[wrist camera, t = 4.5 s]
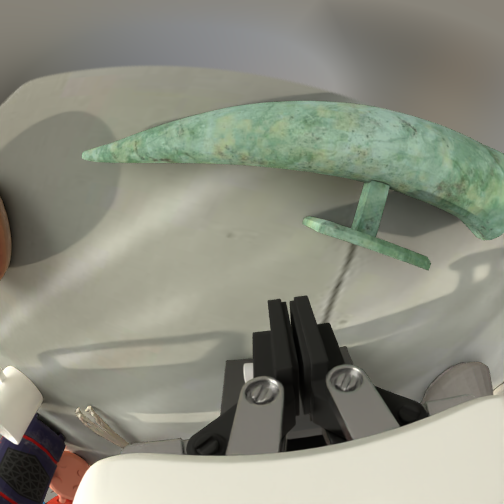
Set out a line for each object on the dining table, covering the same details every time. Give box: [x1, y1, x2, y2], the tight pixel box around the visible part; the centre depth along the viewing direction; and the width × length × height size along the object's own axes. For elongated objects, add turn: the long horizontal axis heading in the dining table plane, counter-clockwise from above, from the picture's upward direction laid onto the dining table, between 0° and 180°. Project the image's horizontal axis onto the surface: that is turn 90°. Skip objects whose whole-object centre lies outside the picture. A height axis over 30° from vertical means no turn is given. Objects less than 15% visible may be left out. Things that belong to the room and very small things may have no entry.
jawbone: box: [75, 406, 129, 448], centre depth 31 cm, size 17×5×2 cm, turn 27°
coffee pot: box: [421, 362, 493, 404], centre depth 18 cm, size 21×12×15 cm, turn 173°
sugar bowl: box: [49, 451, 90, 503], centre depth 33 cm, size 12×14×10 cm
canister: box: [0, 413, 66, 504], centre depth 20 cm, size 14×12×30 cm
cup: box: [0, 366, 43, 445], centre depth 23 cm, size 8×12×10 cm
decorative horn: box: [82, 101, 504, 270], centre depth 15 cm, size 7×11×30 cm
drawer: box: [220, 346, 353, 452], centre depth 20 cm, size 16×10×8 cm, turn 7°
